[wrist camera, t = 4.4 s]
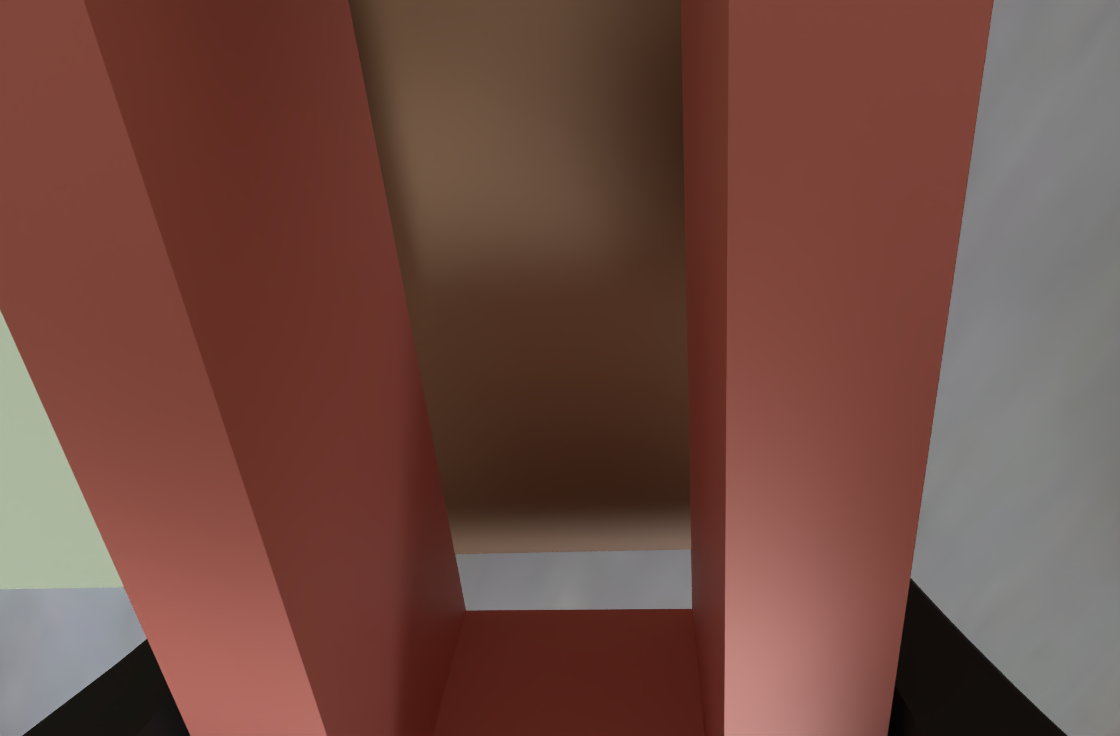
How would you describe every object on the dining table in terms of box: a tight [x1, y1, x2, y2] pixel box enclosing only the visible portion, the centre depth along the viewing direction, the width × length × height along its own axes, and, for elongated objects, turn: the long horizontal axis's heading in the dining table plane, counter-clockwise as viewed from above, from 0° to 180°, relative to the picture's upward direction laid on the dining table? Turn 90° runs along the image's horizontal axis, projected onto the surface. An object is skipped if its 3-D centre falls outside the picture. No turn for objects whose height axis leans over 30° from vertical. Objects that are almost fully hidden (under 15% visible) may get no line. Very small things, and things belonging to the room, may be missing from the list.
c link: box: [0, 0, 994, 736], centre depth 7 cm, size 10×6×4 cm, turn 5°
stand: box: [348, 0, 691, 554], centre depth 7 cm, size 14×9×5 cm, turn 6°
